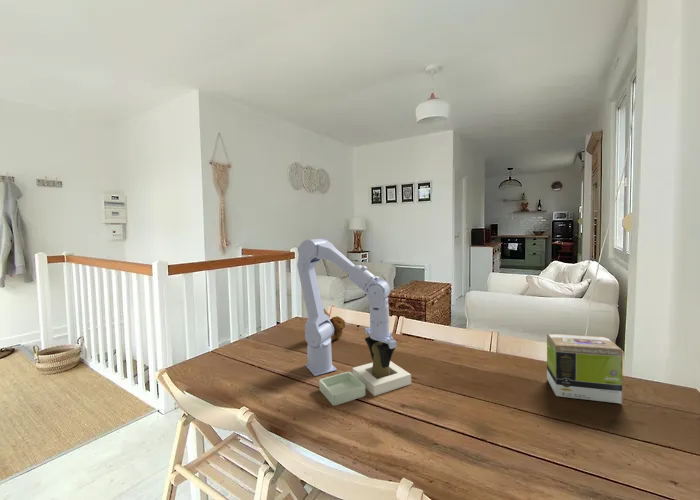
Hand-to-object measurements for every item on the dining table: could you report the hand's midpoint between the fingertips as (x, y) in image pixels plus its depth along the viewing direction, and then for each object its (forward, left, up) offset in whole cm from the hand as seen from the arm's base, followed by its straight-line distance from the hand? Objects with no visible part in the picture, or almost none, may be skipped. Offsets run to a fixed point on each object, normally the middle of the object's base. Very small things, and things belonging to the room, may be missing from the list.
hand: (380, 363), depth 99 cm
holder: (0, 0, -6) cm, 6 cm away
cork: (0, 0, -5) cm, 5 cm away
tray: (0, -13, -6) cm, 15 cm away
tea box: (+34, +44, -6) cm, 56 cm away
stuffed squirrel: (-40, 0, -6) cm, 41 cm away
